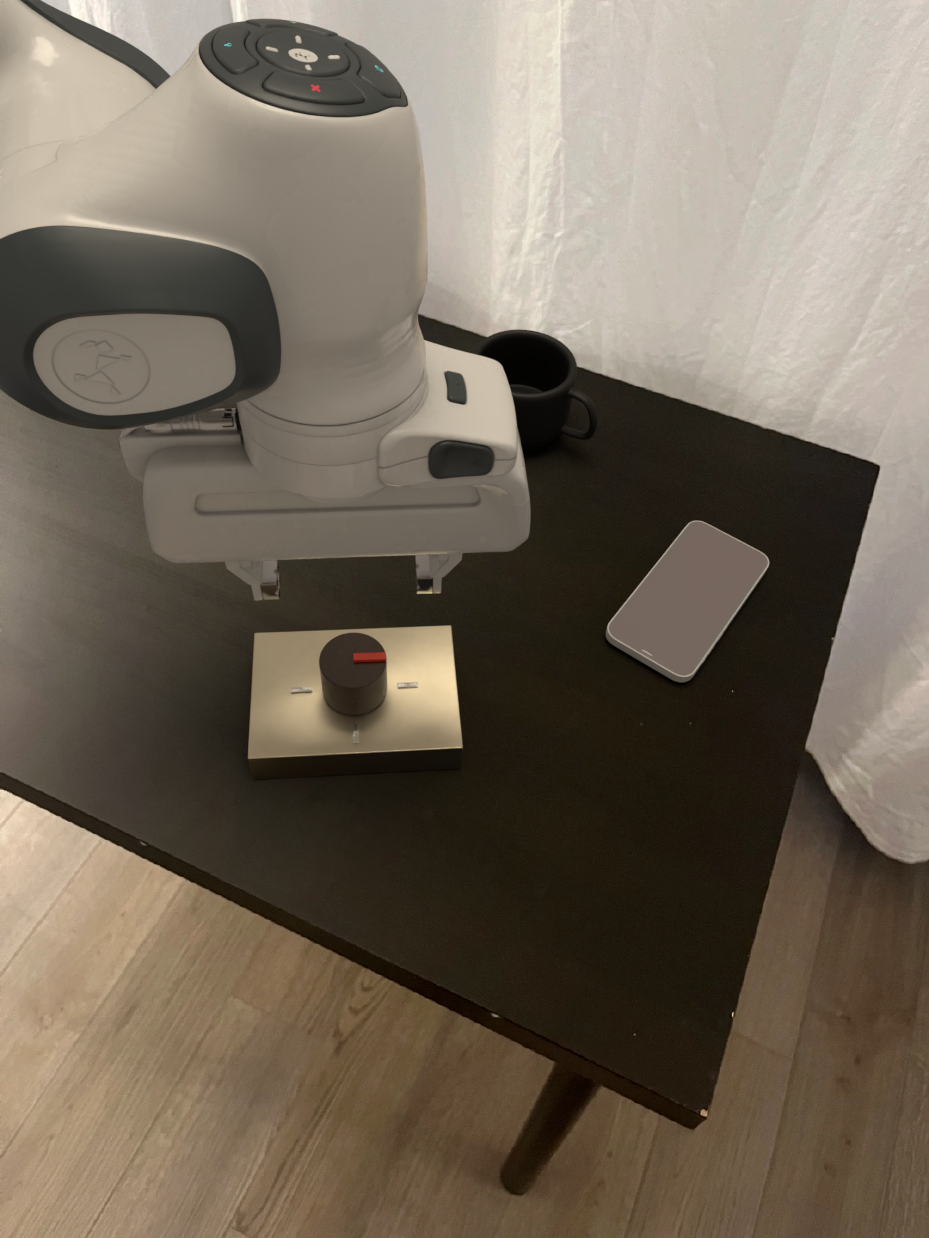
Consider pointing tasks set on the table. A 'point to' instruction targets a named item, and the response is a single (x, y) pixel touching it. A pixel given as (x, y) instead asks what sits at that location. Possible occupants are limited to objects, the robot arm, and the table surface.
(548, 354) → the mug
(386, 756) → the dial panel
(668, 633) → the smartphone
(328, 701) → the dial knob
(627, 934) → the table surface
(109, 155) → the robot arm
